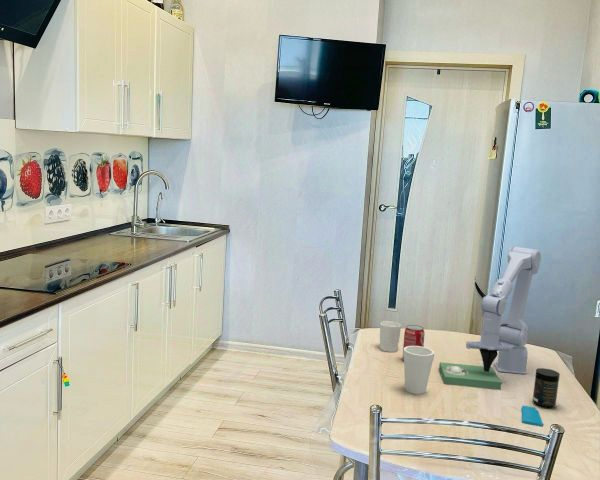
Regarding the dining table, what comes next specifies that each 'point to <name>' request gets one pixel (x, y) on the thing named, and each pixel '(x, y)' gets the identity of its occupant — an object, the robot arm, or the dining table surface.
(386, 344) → the white cup
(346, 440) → the dining table surface
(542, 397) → the supplement container
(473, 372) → the putting mat
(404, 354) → the foam cup
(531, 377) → the dining table surface
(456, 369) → the ball
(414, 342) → the soda can
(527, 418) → the sponge
